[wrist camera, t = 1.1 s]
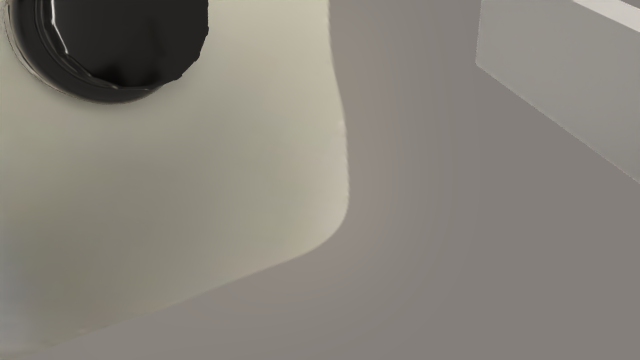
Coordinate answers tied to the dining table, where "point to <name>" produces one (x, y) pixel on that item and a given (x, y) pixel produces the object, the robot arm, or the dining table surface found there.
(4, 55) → the dining table surface
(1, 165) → the dining table surface
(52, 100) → the dining table surface
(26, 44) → the ink bottle
